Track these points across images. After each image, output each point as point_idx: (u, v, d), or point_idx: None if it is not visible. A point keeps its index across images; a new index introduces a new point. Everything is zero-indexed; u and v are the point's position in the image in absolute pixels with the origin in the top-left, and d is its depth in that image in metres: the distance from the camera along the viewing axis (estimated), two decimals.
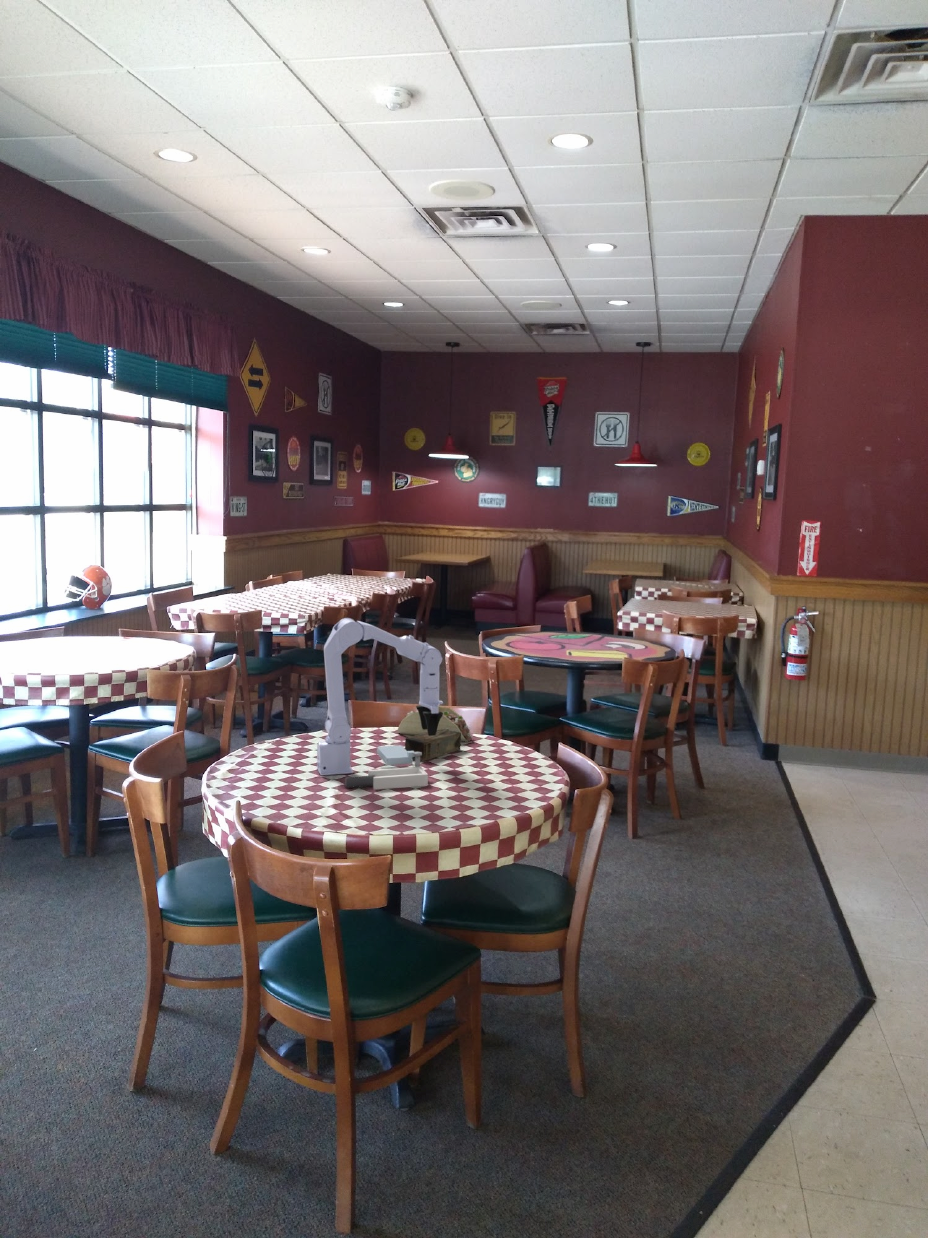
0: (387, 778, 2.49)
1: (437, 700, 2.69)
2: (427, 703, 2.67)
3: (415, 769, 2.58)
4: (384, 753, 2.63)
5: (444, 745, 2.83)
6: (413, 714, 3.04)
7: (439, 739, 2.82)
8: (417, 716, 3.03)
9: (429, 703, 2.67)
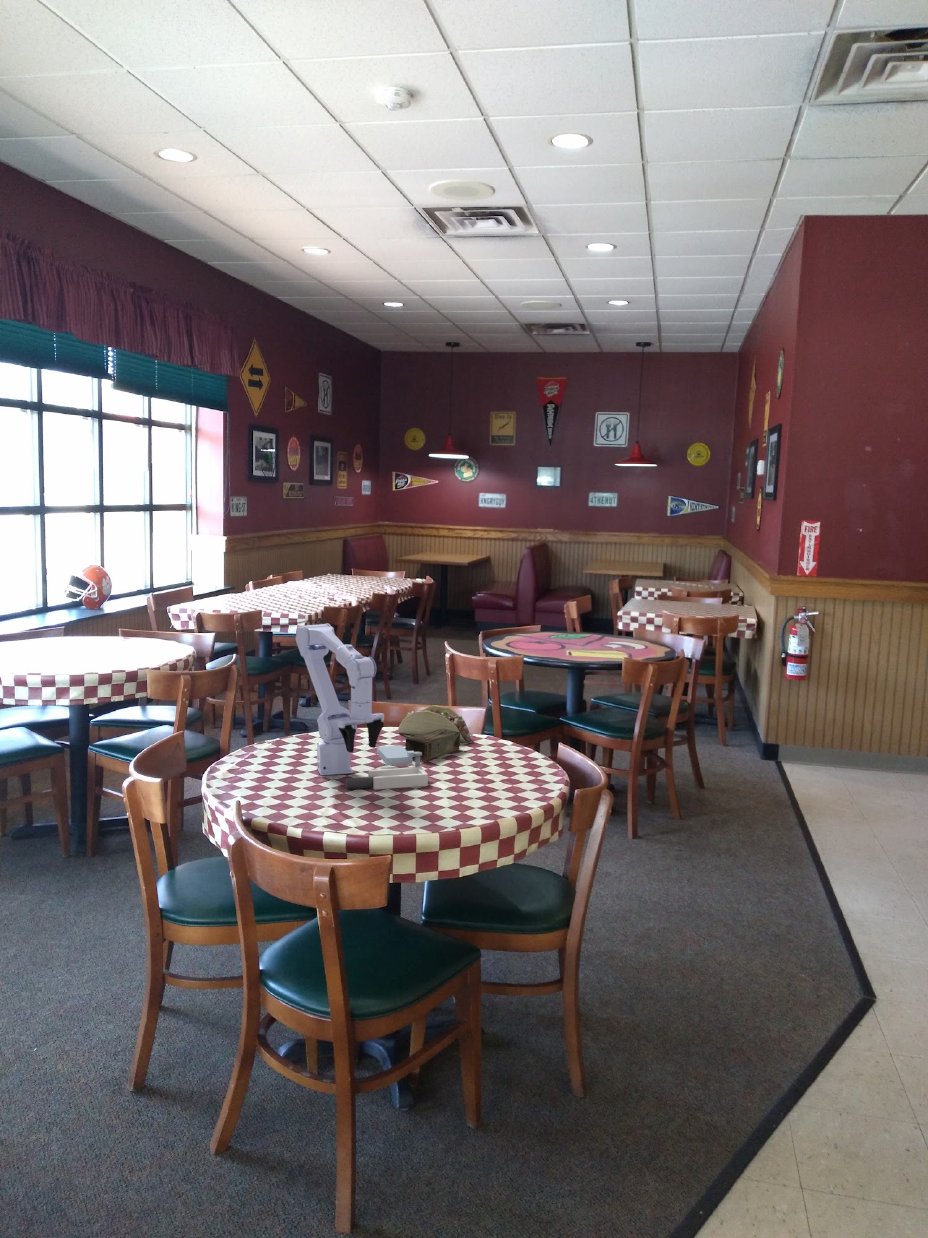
0: (387, 778, 2.49)
1: (358, 716, 2.51)
2: (351, 717, 2.53)
3: (415, 769, 2.58)
4: (384, 753, 2.63)
5: (444, 745, 2.84)
6: (413, 714, 3.04)
7: (439, 739, 2.82)
8: (417, 716, 3.04)
9: (351, 717, 2.52)
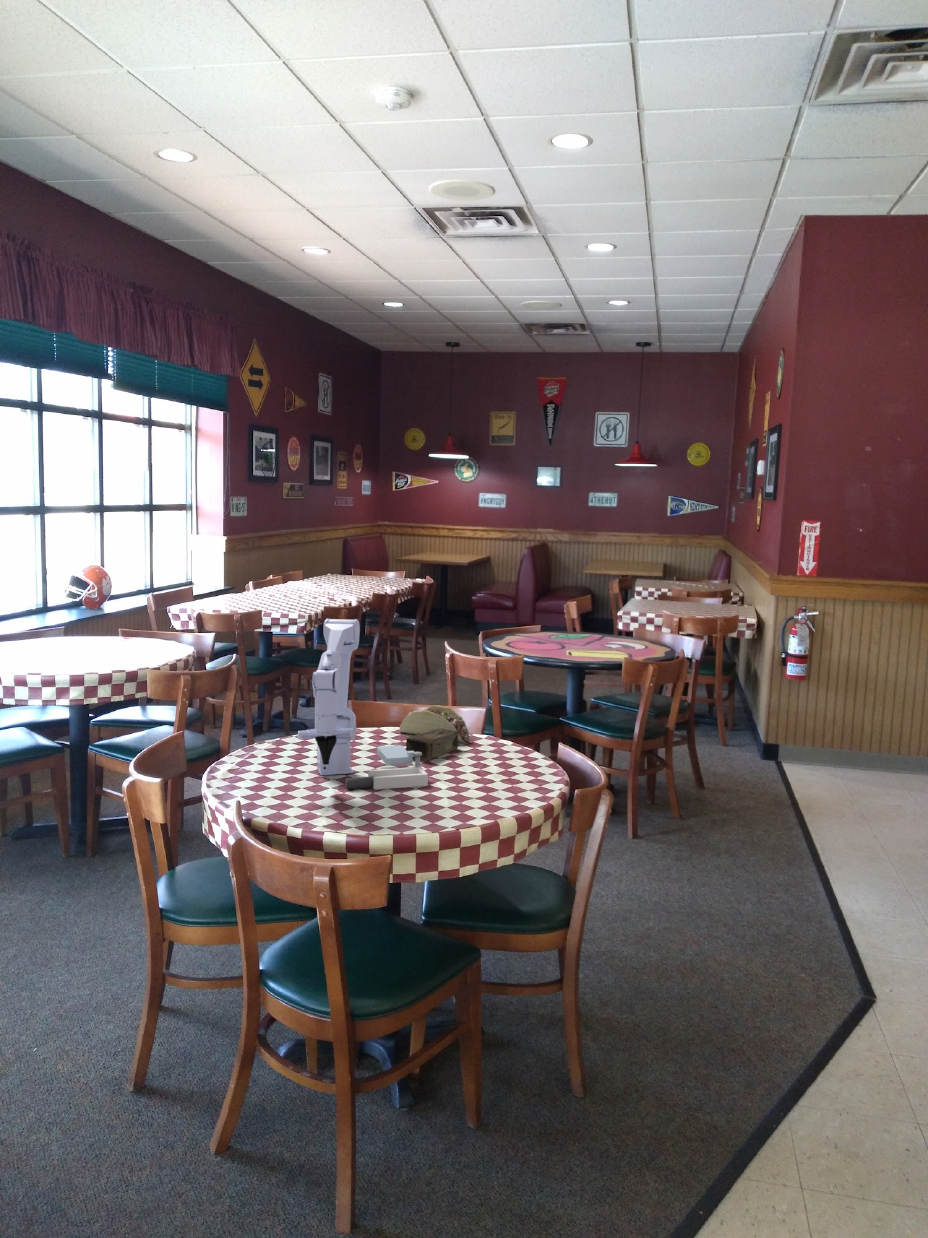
0: (387, 778, 2.49)
1: (318, 729, 2.43)
2: (315, 729, 2.46)
3: (415, 769, 2.58)
4: (384, 753, 2.63)
5: (444, 745, 2.84)
6: (413, 714, 3.04)
7: (439, 739, 2.82)
8: (417, 716, 3.04)
9: (314, 729, 2.46)
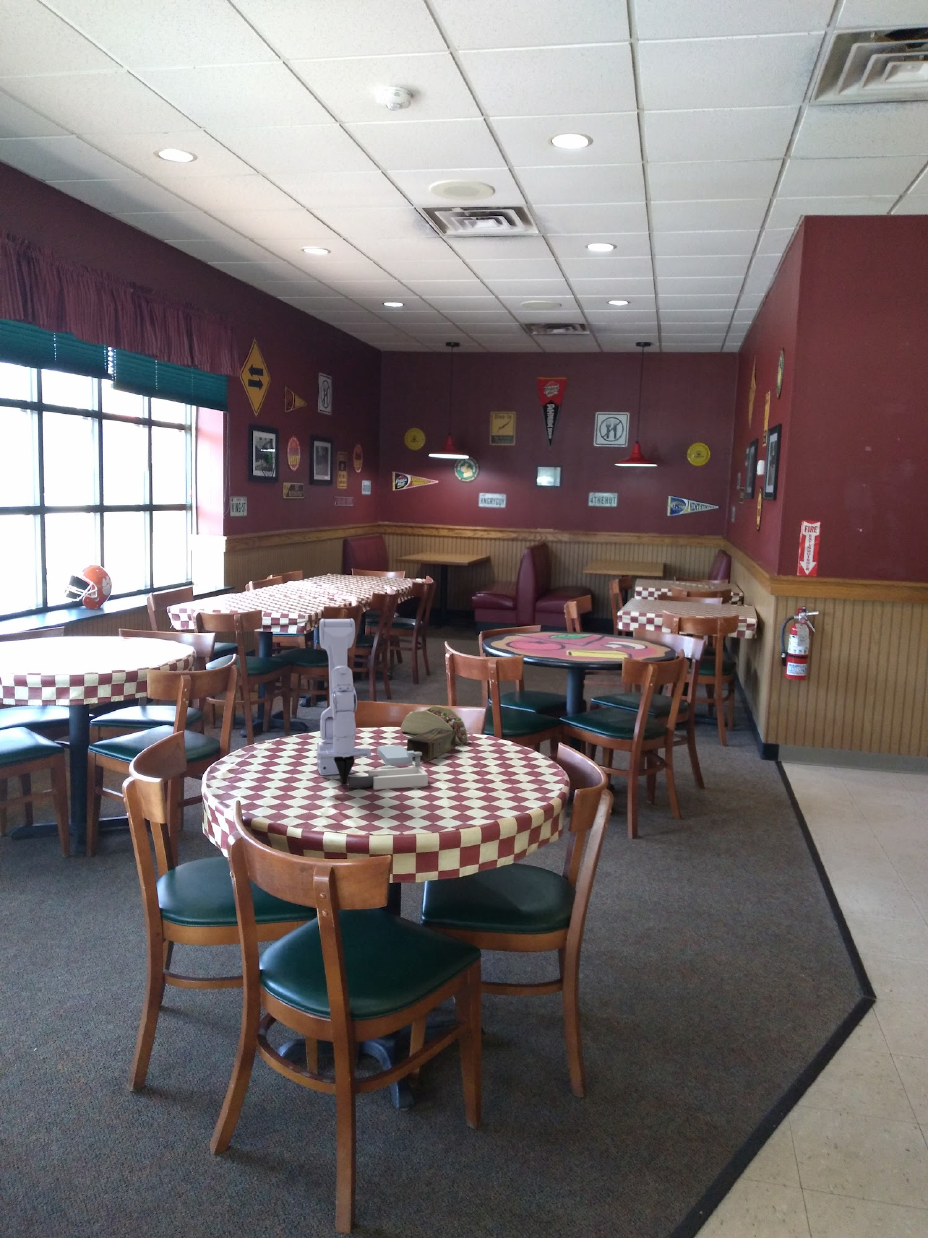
0: (387, 778, 2.49)
1: (336, 750, 2.46)
2: None
3: (415, 769, 2.58)
4: (384, 753, 2.63)
5: (443, 744, 2.85)
6: (412, 713, 3.05)
7: (440, 738, 2.83)
8: (416, 715, 3.04)
9: (333, 750, 2.48)
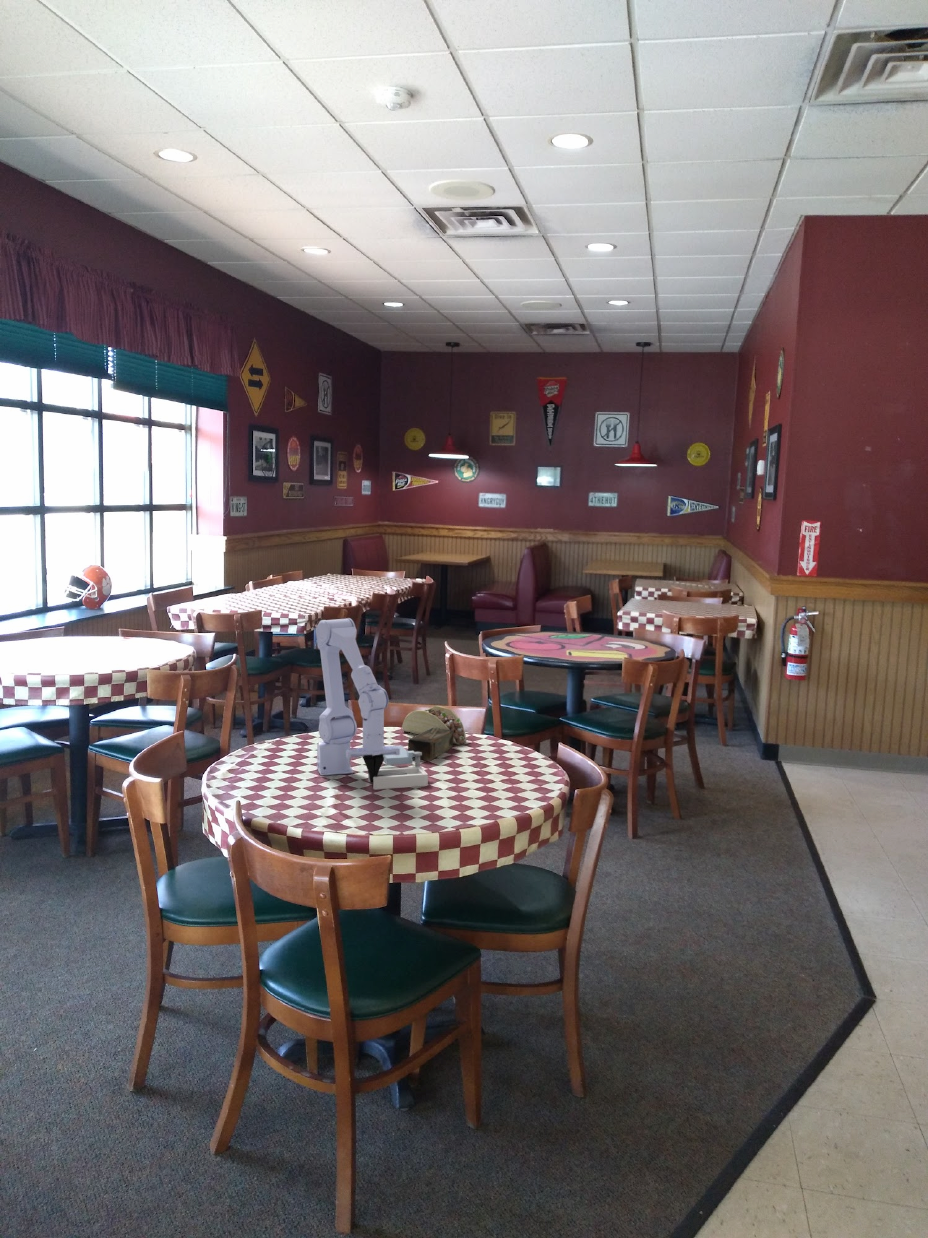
0: (387, 778, 2.49)
1: (366, 748, 2.48)
2: (362, 748, 2.51)
3: (415, 769, 2.58)
4: None
5: (443, 744, 2.85)
6: (412, 713, 3.06)
7: (440, 738, 2.83)
8: (415, 715, 3.05)
9: (362, 748, 2.50)
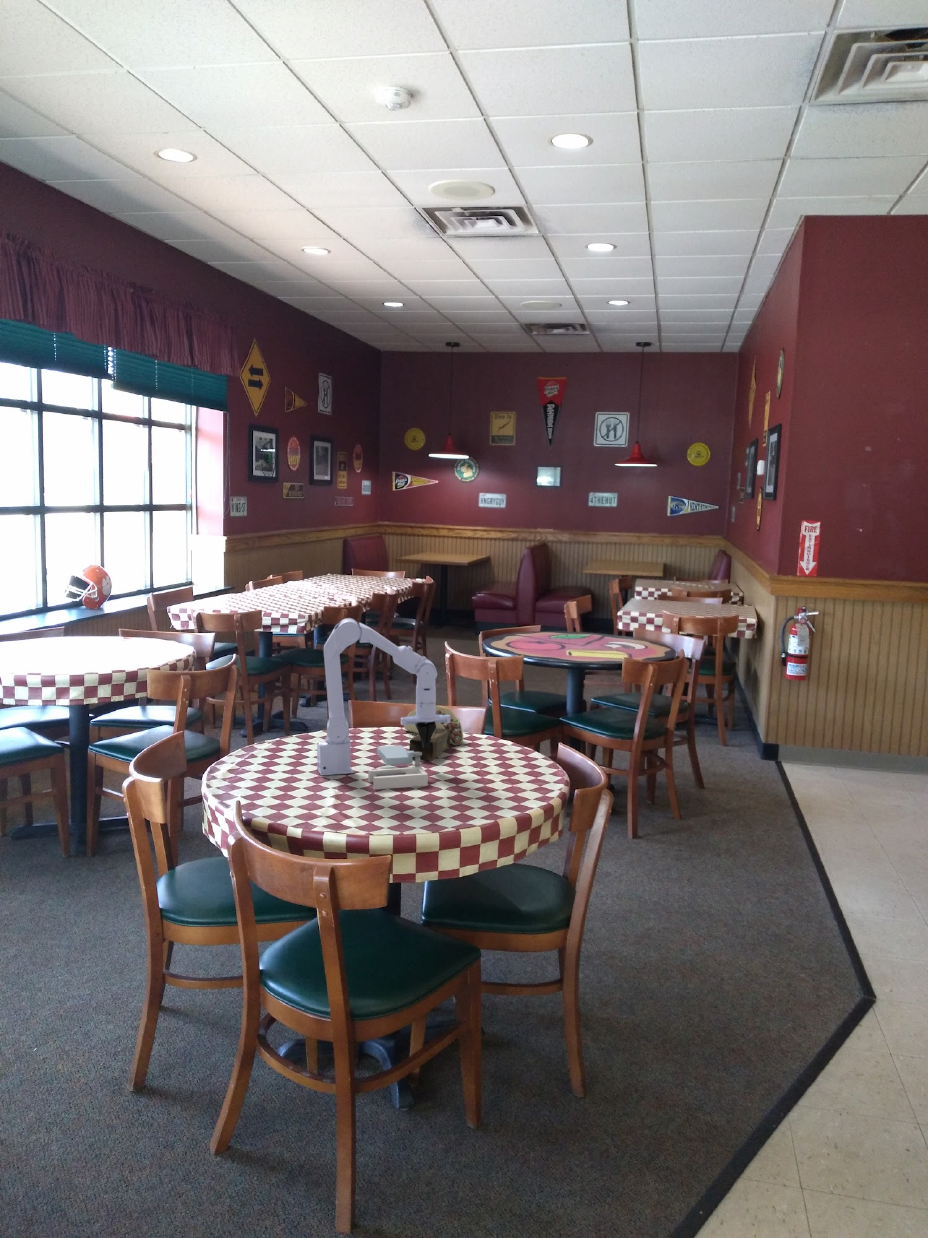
0: (387, 778, 2.49)
1: (420, 716, 2.64)
2: (415, 716, 2.67)
3: (415, 769, 2.58)
4: (384, 753, 2.63)
5: (442, 743, 2.86)
6: (412, 712, 3.06)
7: (440, 737, 2.84)
8: (415, 715, 3.05)
9: (415, 716, 2.66)
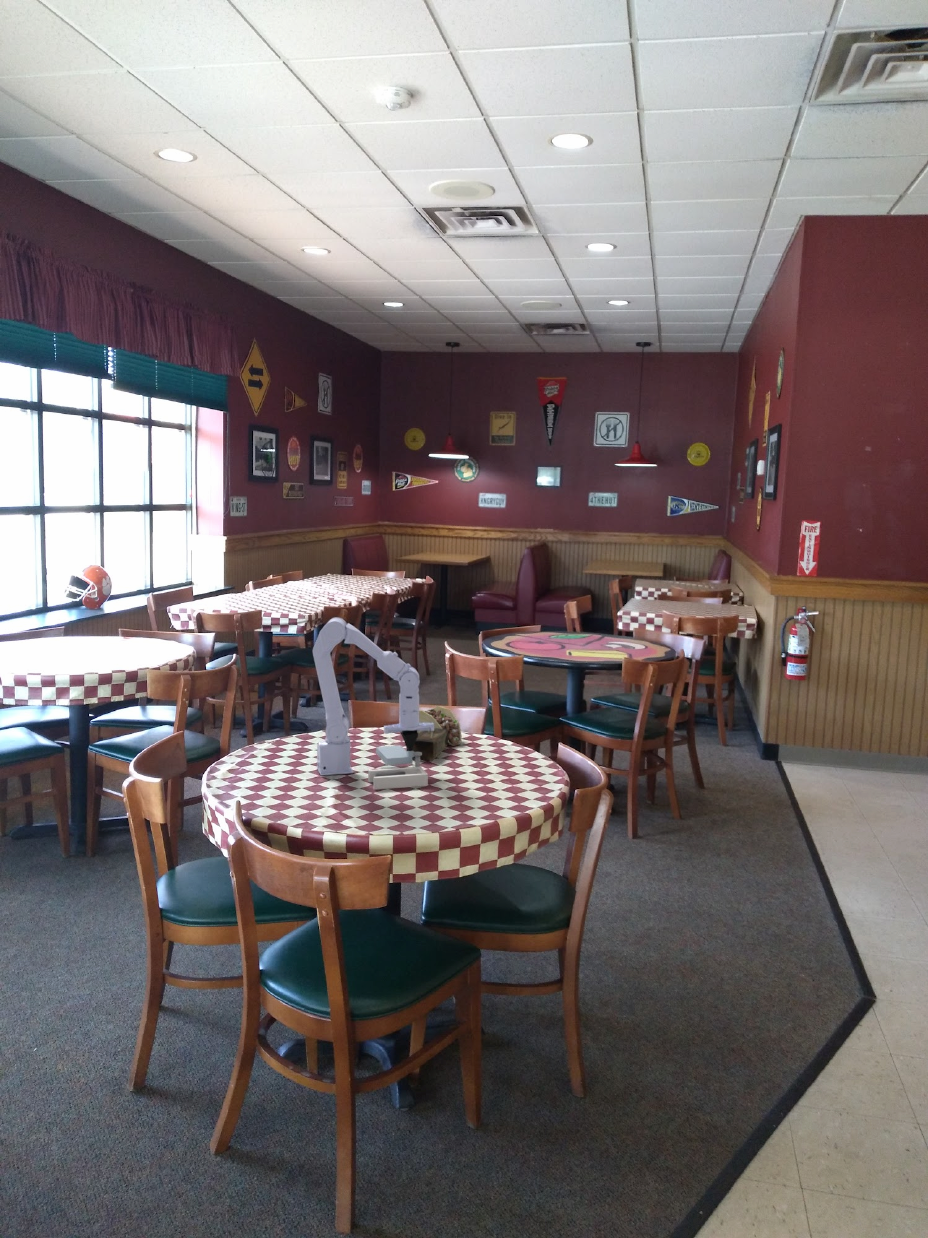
0: (387, 778, 2.49)
1: (403, 724, 2.62)
2: (399, 724, 2.65)
3: (415, 769, 2.58)
4: (384, 753, 2.63)
5: (442, 743, 2.86)
6: None
7: (439, 737, 2.84)
8: None
9: (399, 724, 2.64)
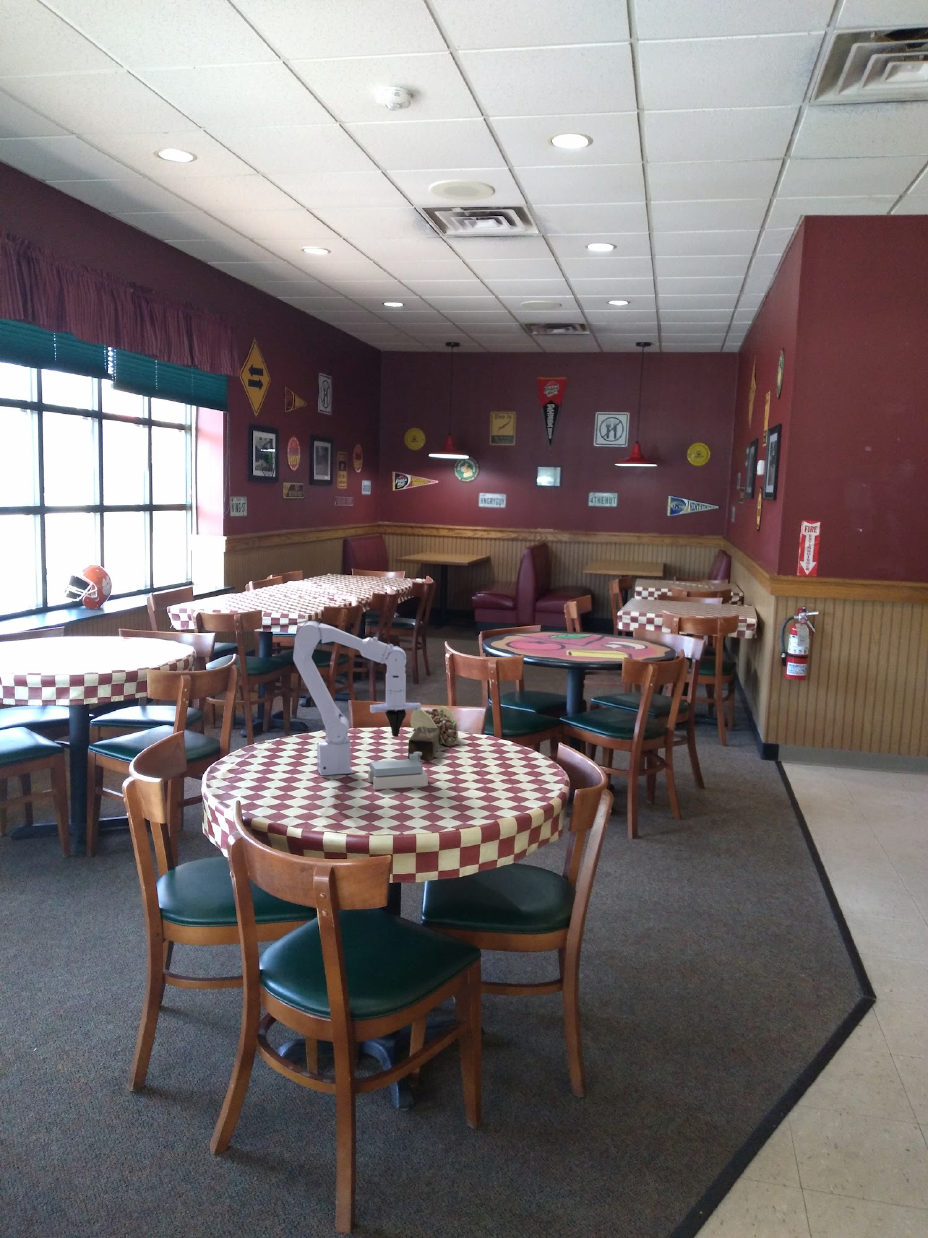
0: (387, 778, 2.49)
1: (389, 703, 2.61)
2: (385, 703, 2.64)
3: None
4: (403, 766, 2.50)
5: (437, 742, 2.87)
6: (414, 711, 3.08)
7: (436, 737, 2.85)
8: (416, 714, 3.07)
9: (385, 704, 2.63)
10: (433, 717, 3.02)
